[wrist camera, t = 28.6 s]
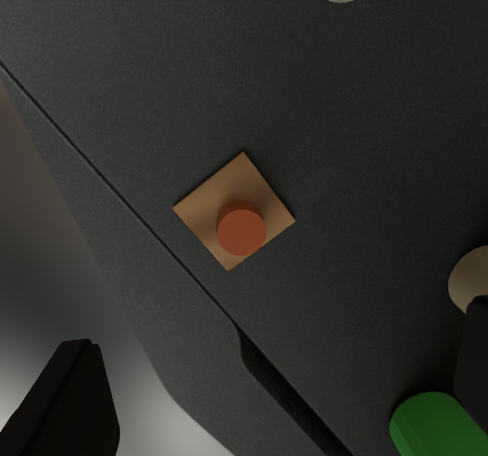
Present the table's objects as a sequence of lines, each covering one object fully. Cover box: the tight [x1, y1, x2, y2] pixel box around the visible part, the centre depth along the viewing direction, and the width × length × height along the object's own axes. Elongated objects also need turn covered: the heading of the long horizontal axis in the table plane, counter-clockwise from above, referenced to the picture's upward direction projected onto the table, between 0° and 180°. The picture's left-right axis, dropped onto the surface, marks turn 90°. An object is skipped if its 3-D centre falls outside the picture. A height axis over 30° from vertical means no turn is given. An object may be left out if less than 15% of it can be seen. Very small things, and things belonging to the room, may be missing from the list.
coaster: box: [172, 152, 295, 271], centre depth 31 cm, size 8×8×1 cm
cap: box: [216, 200, 266, 256], centre depth 29 cm, size 4×4×3 cm
